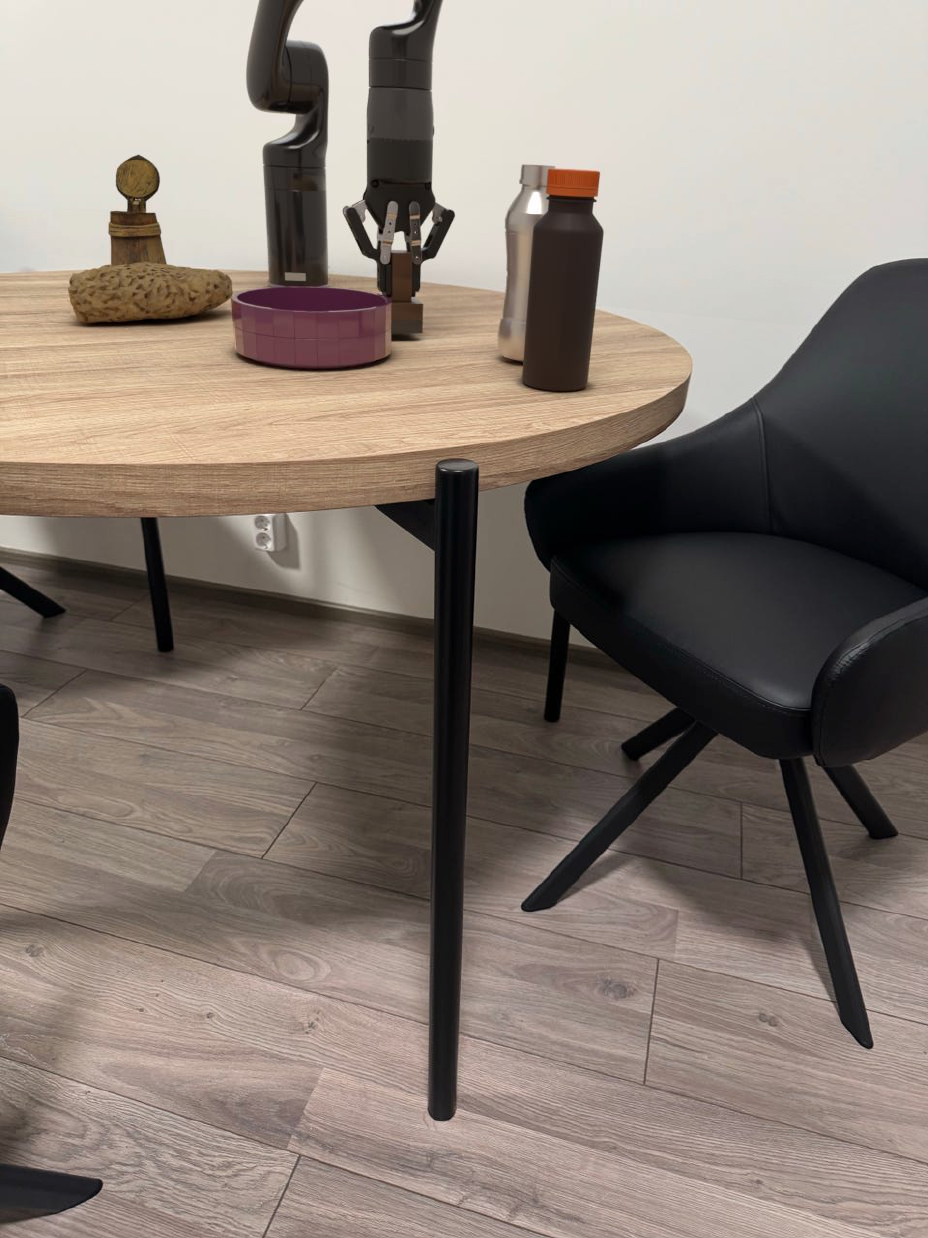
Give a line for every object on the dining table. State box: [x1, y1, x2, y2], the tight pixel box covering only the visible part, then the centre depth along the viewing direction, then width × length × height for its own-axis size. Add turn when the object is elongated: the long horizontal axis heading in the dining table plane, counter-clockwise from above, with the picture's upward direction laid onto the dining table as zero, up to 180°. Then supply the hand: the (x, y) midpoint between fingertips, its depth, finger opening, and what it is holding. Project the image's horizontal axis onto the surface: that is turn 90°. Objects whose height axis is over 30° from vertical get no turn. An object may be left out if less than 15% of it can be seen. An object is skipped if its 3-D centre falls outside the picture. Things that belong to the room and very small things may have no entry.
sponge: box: [67, 262, 234, 324], centre depth 115 cm, size 13×8×20 cm
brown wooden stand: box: [107, 154, 168, 266], centre depth 128 cm, size 9×14×18 cm, turn 8°
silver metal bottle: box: [496, 164, 556, 363], centre depth 99 cm, size 6×7×20 cm
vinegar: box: [521, 168, 605, 392], centre depth 90 cm, size 7×7×20 cm
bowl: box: [230, 286, 392, 370], centre depth 101 cm, size 17×17×6 cm
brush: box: [388, 249, 424, 335], centre depth 110 cm, size 6×4×9 cm
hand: (398, 295), depth 111 cm, fingers closed on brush, 2 cm apart
